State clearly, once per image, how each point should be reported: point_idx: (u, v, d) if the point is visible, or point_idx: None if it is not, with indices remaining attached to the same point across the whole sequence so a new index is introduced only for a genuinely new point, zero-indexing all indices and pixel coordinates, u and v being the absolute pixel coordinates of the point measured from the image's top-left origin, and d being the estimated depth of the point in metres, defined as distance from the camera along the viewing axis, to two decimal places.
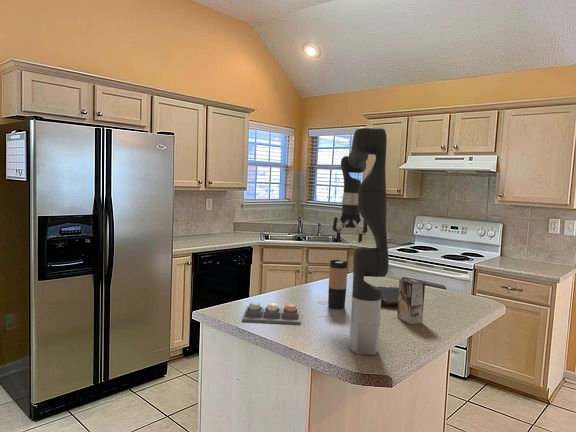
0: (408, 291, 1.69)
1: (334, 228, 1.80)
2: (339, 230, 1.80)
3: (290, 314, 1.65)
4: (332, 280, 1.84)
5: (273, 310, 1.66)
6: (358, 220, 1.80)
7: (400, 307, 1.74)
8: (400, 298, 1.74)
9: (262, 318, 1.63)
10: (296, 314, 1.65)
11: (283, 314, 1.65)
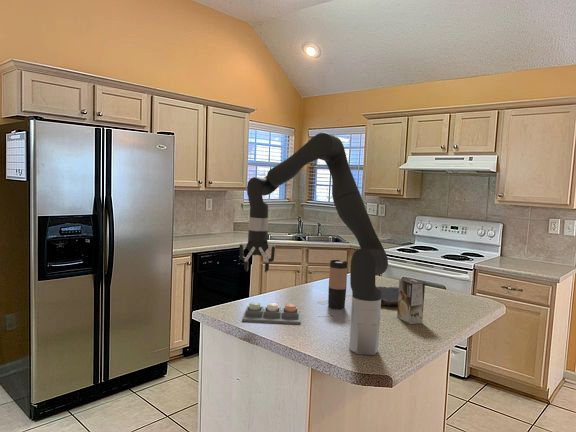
0: (408, 291, 1.69)
1: (241, 257, 1.66)
2: (246, 259, 1.66)
3: (290, 314, 1.65)
4: (332, 280, 1.84)
5: (273, 310, 1.66)
6: (265, 247, 1.66)
7: (400, 307, 1.74)
8: (400, 298, 1.74)
9: (262, 318, 1.63)
10: (296, 314, 1.65)
11: (283, 314, 1.65)
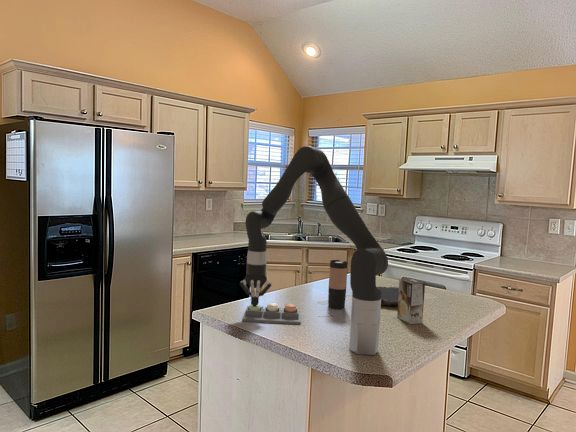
0: (408, 291, 1.69)
1: (248, 292, 1.67)
2: (253, 294, 1.67)
3: (290, 314, 1.65)
4: (332, 280, 1.84)
5: (273, 310, 1.66)
6: (263, 280, 1.66)
7: (400, 307, 1.74)
8: (400, 298, 1.74)
9: (262, 318, 1.63)
10: (296, 314, 1.65)
11: (283, 314, 1.65)
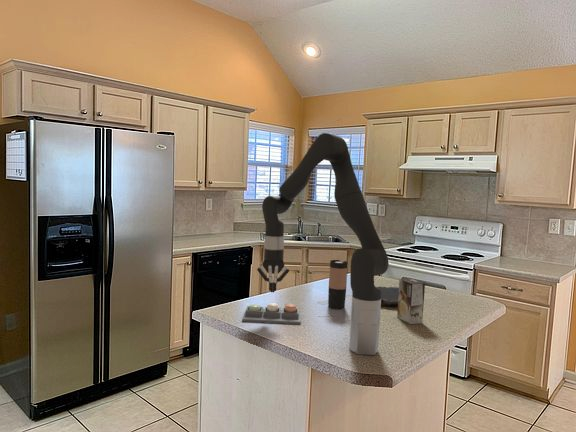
0: (408, 291, 1.69)
1: (265, 278, 1.65)
2: (271, 280, 1.65)
3: (290, 314, 1.65)
4: (332, 280, 1.84)
5: (273, 310, 1.66)
6: (281, 266, 1.65)
7: (400, 307, 1.74)
8: (400, 298, 1.74)
9: (262, 318, 1.63)
10: (296, 314, 1.65)
11: (283, 314, 1.65)
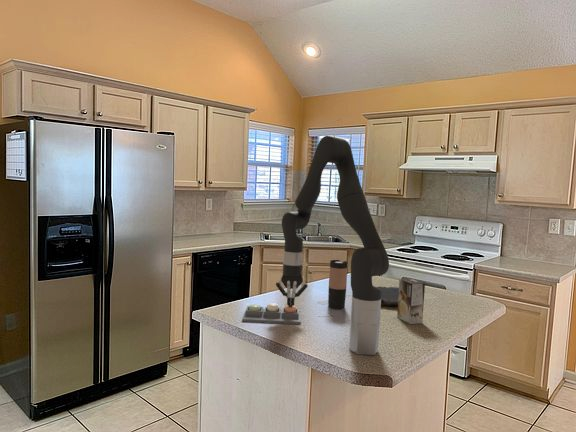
0: (408, 291, 1.69)
1: (284, 293, 1.67)
2: (289, 295, 1.67)
3: (290, 314, 1.65)
4: (332, 280, 1.84)
5: (273, 310, 1.66)
6: (299, 281, 1.66)
7: (400, 307, 1.74)
8: (400, 298, 1.74)
9: (262, 318, 1.63)
10: (296, 314, 1.65)
11: (283, 314, 1.65)
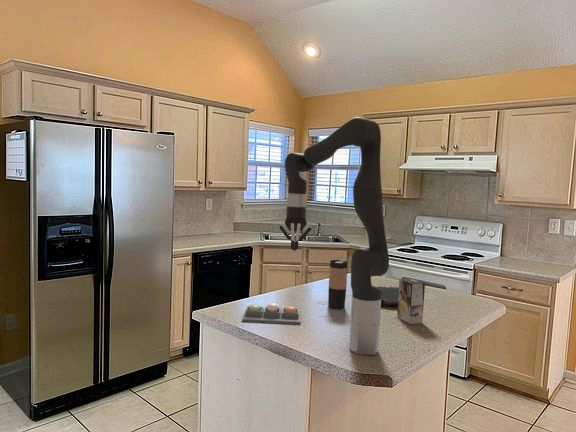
0: (408, 291, 1.69)
1: (288, 236, 1.65)
2: (293, 238, 1.65)
3: (290, 314, 1.65)
4: (332, 280, 1.84)
5: (273, 310, 1.66)
6: (303, 224, 1.64)
7: (400, 307, 1.74)
8: (400, 298, 1.74)
9: (262, 318, 1.63)
10: (296, 314, 1.65)
11: (283, 314, 1.65)
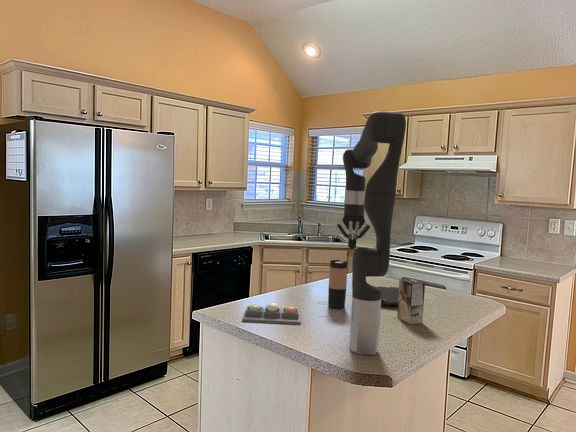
0: (408, 291, 1.69)
1: (346, 234, 1.61)
2: (351, 236, 1.61)
3: (290, 314, 1.65)
4: (332, 280, 1.84)
5: (273, 310, 1.66)
6: (362, 222, 1.60)
7: (400, 307, 1.74)
8: (400, 298, 1.74)
9: (262, 318, 1.63)
10: (296, 314, 1.65)
11: (283, 314, 1.65)
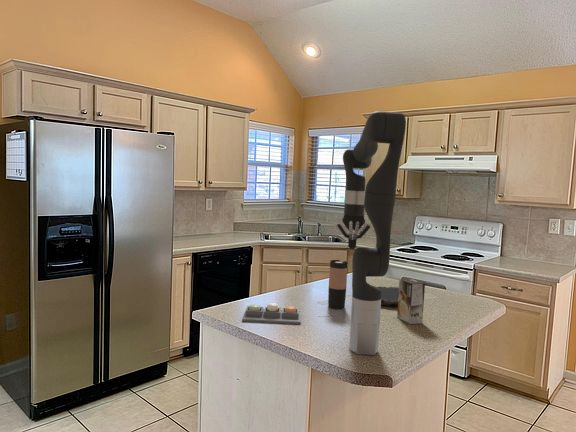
0: (408, 291, 1.69)
1: (346, 234, 1.61)
2: (351, 236, 1.61)
3: (290, 314, 1.65)
4: (332, 280, 1.84)
5: (273, 310, 1.66)
6: (362, 222, 1.60)
7: (400, 307, 1.74)
8: (400, 298, 1.74)
9: (262, 318, 1.63)
10: (296, 314, 1.65)
11: (283, 314, 1.65)
